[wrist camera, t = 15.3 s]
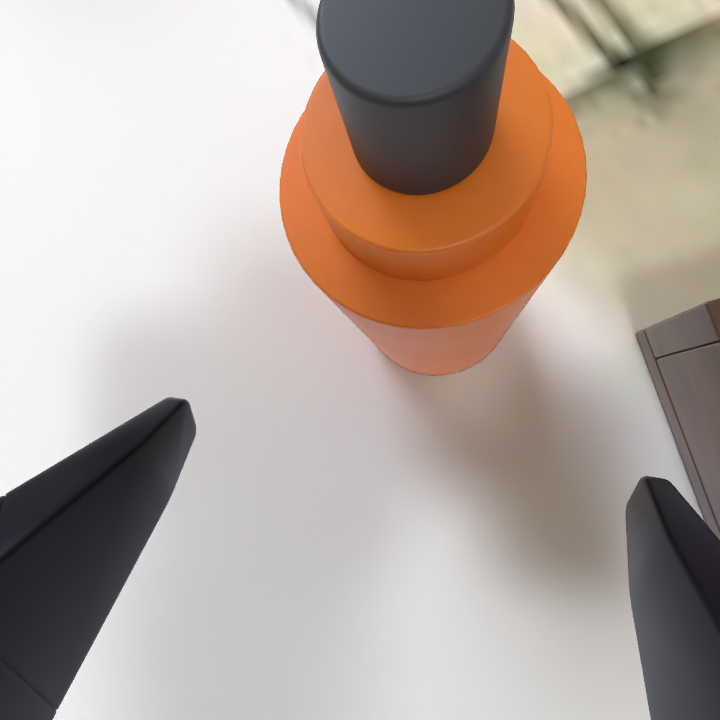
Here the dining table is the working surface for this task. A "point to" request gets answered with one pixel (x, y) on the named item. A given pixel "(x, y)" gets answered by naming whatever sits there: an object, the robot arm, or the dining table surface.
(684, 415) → the crate
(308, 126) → the orange bottle
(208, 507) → the dining table surface
